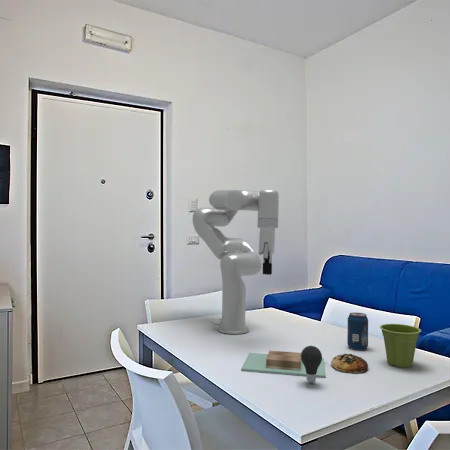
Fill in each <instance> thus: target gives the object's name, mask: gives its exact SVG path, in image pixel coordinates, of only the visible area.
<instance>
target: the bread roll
mask: <svg viewBox="0 0 450 450" xmlns="http://www.w3.org/2000/svg"><path fill="white" fill-rule="evenodd" d="M330 364H331V366H332V367H333V369H335V370H337V371H338V372H342V373H346V374H361V373H364V372H366V371H367V370H368V369H369V364H368V362H367V361H366V360H365V359H364V358H363V357H362V356H358V355H355V354H352V353H343V354H337V355H335V356H334V357H333V358H332V359H331V361H330Z"/></svg>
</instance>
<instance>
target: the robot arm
mask: <svg viewBox="0 0 450 450" xmlns="http://www.w3.org/2000/svg"><path fill="white" fill-rule="evenodd" d="M279 197H280V195H279V192H278V191H277V190H274V189H261V190H247V189H245V190H243V189H218V190H215V191H213V192H212V193H211V194H210V195H209V197H208V201H209V206H210V207H200V208H198V209H196V210H194V211H193V214H192V225H193V229H194V231H195V232H196V234H197V235H198V236H199V237H200V239H202V241H203V242H204V243H205V244H206V245H207V247H208V248H209V250H210V251H211V253H213V255H214V256H215V258H216V259H218V260H220V265H219V266H220V267H219V268H220V274H221V280H222V286H221V287H222V288H221V291H222V292H221V295H222V298H221V301H222V302H221V318H219V319H216V318H215V319H214V318H212V319H211V325H213V326H217V325H218V327H217V331H219V332H220V333H222V334H227V335H242V334H246V333H249V330H250V327H249V326H247V325H246V300H247V299H246V297H247V296H246V293H247V292H246V291H247V289H246V285H245V284H246V283H245V282H244V280H243V278H242V277H244V276H246V277H247V276H255V275H257V274H259V273H260V271H261V270H262V275H269V276H270V275H272V274H273V263H272V261H273V260H272V256H273V255H274V254H275V243H276V241H275V240H276V229H279V203H280V202H279ZM239 211H253V212H257V229H258V228H259V236H258V239H259V240H258V252H256V250H254V248H253V246H251V245H250V244H249V242H247V241H246V240H245V239H243V238H241V237H227V236H225V234H224V233H223V232H222V231H221V230H220V229H219V228H217V227H226V226H228V225H230V223H231V222H232V220H233V219H234V217H235V216H236V214H237V213H238V212H239ZM261 255H262V260H261V258H260V256H261Z"/></svg>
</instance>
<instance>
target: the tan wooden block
mask: <svg viewBox="0 0 450 450" xmlns="http://www.w3.org/2000/svg"><path fill="white" fill-rule="evenodd" d="M301 353H302V352H295V351H284V350H283V351H281V350H269V351H268V353H267V354H268V356H267V359H266V368H276V369H288V370H300V371H301Z"/></svg>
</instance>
